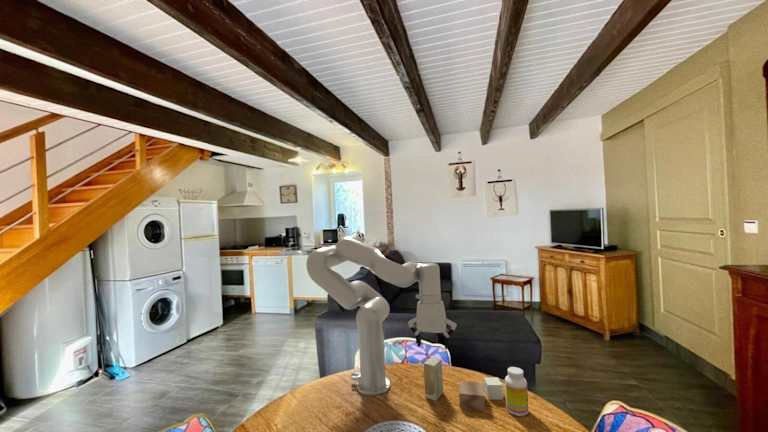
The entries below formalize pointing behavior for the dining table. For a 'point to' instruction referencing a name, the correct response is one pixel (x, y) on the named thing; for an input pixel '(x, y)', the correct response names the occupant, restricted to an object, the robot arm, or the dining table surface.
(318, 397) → the dining table surface
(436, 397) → the skincare box
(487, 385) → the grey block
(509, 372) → the supplement bottle
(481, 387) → the walnut block
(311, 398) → the dining table surface
